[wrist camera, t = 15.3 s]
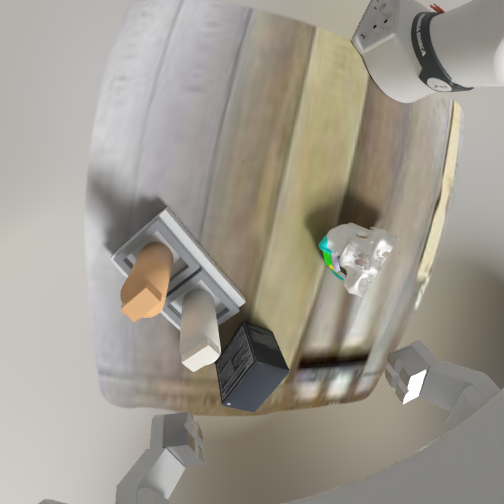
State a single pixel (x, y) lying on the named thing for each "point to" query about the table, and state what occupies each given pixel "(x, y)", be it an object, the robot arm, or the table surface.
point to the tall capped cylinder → (147, 282)
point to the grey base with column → (187, 288)
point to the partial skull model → (355, 253)
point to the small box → (250, 368)
